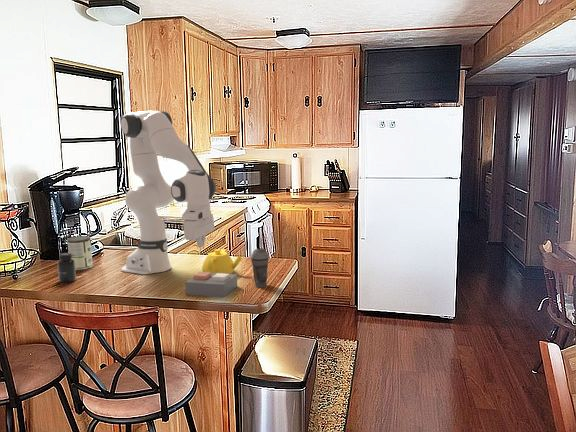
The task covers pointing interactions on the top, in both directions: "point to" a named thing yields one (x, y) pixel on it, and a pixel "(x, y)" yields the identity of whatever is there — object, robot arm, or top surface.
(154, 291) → the top surface
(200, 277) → the terracotta key
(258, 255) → the beverage cup
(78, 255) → the coffee can
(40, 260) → the top surface
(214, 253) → the teapot
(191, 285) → the key console
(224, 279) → the white key
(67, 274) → the supplement bottle
